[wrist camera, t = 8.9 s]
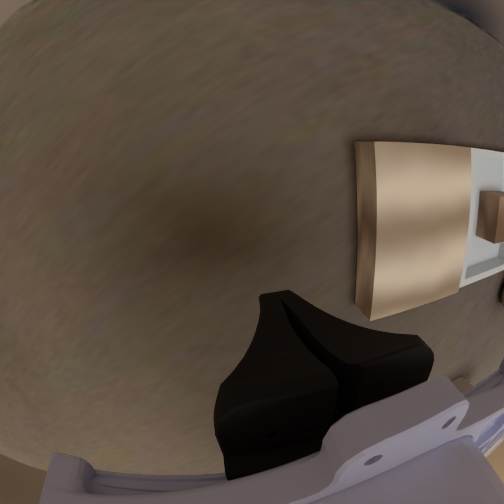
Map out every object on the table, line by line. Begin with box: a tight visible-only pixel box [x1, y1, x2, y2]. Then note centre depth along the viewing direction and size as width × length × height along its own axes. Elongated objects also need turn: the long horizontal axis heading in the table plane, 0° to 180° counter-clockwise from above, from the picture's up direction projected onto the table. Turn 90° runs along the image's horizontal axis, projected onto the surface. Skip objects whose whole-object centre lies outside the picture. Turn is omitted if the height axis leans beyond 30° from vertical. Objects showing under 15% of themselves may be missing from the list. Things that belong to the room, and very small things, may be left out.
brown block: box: [476, 191, 504, 244], centre depth 22 cm, size 5×5×3 cm
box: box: [459, 148, 504, 288], centre depth 22 cm, size 14×12×2 cm
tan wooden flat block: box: [354, 142, 471, 321], centre depth 21 cm, size 14×11×3 cm
